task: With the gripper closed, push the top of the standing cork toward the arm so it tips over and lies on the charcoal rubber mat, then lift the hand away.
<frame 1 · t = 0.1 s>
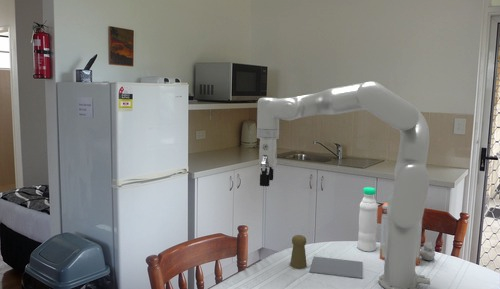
hand: (266, 182, 147), 31 cm above the table, tool pointing down, fingers open, 9 cm apart
rubber mat: (336, 267, 153), on the table
rubber duck: (426, 259, 162), on the table
cracker box: (399, 260, 161), on the table
water bottle: (366, 249, 171), on the table
cork: (298, 265, 154), on the table
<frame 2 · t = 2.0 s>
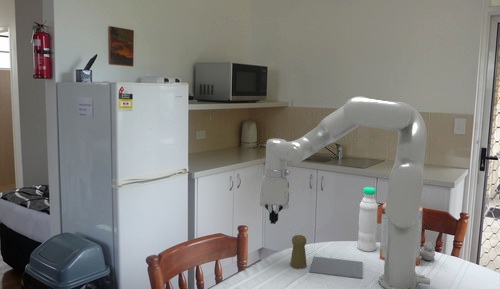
hand: (273, 222, 155), 15 cm above the table, tool pointing down, fingers closed
nothing on the table moved.
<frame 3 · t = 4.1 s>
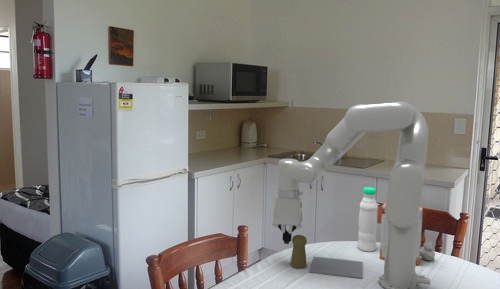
hand: (286, 242, 154), 8 cm above the table, tool pointing down, fingers closed
cork: (298, 265, 154), on the table, touching gripper
everything else where it was.
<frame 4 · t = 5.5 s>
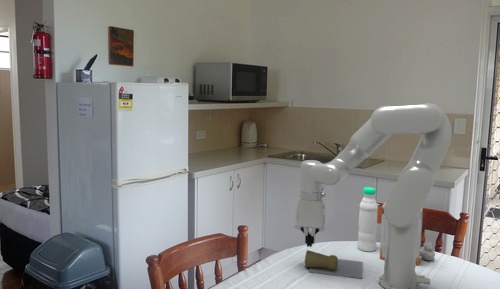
hand: (309, 245, 152), 8 cm above the table, tool pointing down, fingers closed
cork: (306, 258, 153), point 3 cm above the table, touching rubber mat
everything else where it was.
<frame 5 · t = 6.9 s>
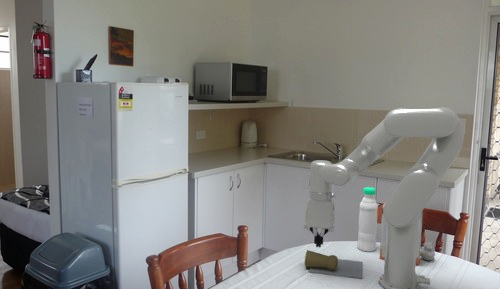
hand: (318, 245, 151), 8 cm above the table, tool pointing down, fingers closed
nothing on the table moved.
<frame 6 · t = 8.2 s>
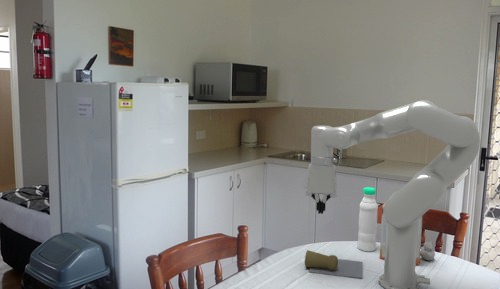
hand: (320, 212, 150), 20 cm above the table, tool pointing down, fingers closed
nothing on the table moved.
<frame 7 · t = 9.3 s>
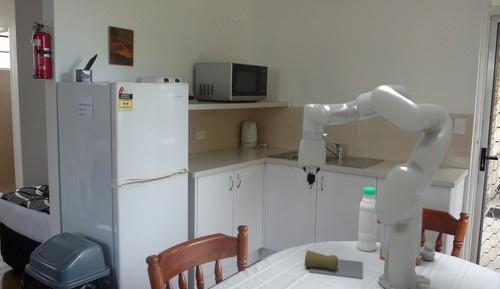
hand: (310, 183, 163), 27 cm above the table, tool pointing down, fingers closed
nothing on the table moved.
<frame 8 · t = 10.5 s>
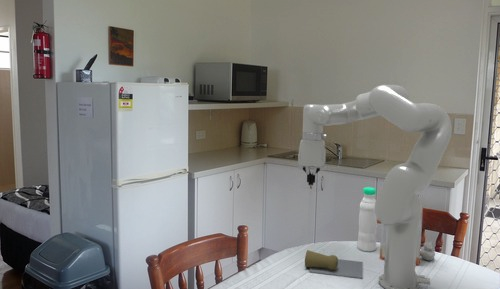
hand: (310, 184, 164), 27 cm above the table, tool pointing down, fingers closed
nothing on the table moved.
at the end: cork tilted 90°; cork touching rubber mat, table; cork inside the target area (5.4 cm from its centre), point 3.0 cm above the table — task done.
